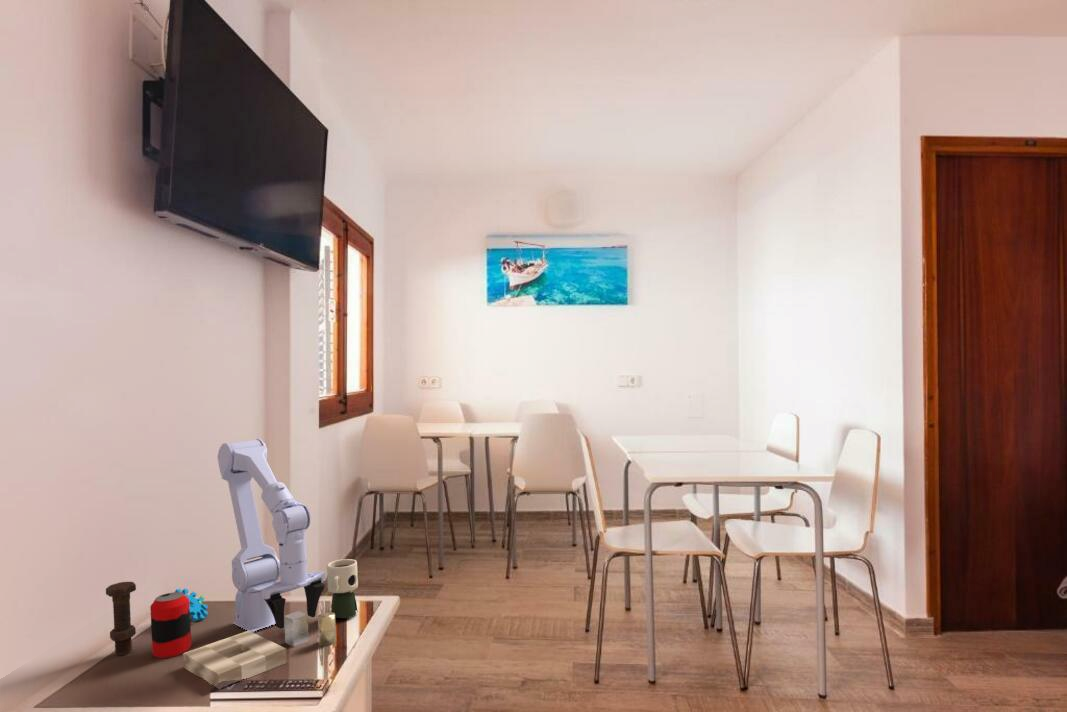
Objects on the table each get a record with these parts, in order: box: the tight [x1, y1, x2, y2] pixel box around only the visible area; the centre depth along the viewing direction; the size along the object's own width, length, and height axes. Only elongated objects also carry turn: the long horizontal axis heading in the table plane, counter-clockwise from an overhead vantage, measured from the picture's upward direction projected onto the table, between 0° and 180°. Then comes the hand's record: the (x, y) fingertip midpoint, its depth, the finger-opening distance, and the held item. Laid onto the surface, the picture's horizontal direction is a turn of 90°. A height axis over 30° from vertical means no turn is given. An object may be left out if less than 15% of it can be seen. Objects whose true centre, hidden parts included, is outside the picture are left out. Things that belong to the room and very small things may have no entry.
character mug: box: [326, 558, 359, 620], centre depth 166 cm, size 11×7×13 cm, turn 177°
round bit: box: [317, 611, 337, 647], centre depth 151 cm, size 4×4×6 cm
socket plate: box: [182, 630, 287, 686], centre depth 141 cm, size 16×14×3 cm
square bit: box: [284, 610, 309, 648], centre depth 152 cm, size 4×4×6 cm
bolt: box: [105, 581, 137, 656], centre depth 150 cm, size 6×5×15 cm
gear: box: [174, 588, 209, 622], centre depth 169 cm, size 11×6×10 cm
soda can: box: [149, 591, 192, 659], centre depth 150 cm, size 8×8×12 cm
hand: (296, 621), depth 152 cm, fingers open, 7 cm apart
